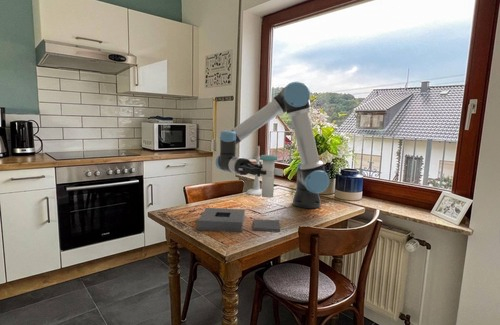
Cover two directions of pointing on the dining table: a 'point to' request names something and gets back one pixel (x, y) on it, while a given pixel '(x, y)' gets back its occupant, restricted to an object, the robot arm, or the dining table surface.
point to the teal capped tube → (267, 181)
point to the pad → (266, 225)
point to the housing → (222, 220)
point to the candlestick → (256, 178)
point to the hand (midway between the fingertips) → (277, 173)
